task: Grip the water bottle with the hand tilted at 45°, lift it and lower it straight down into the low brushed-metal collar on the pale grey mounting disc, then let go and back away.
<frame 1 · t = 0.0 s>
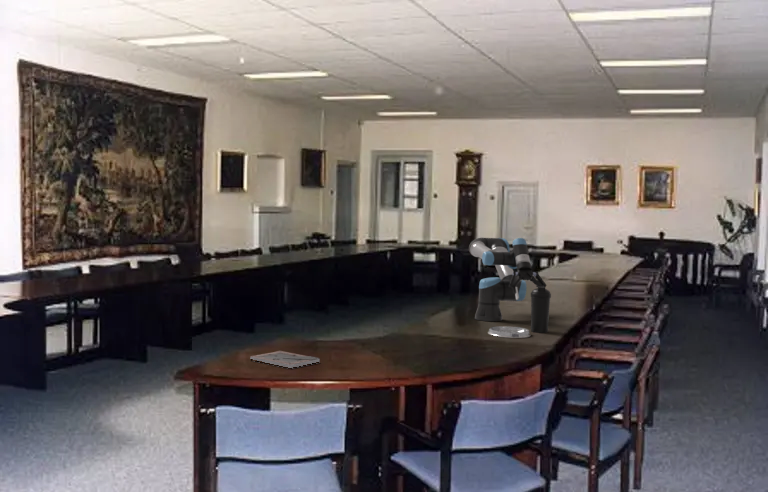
hand: (530, 299, 415), 15 cm above the table, tool tilted 35°, fingers open, 13 cm apart
water bottle: (539, 331, 405), on the table
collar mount: (509, 334, 393), on the table
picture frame: (284, 363, 310), on the table
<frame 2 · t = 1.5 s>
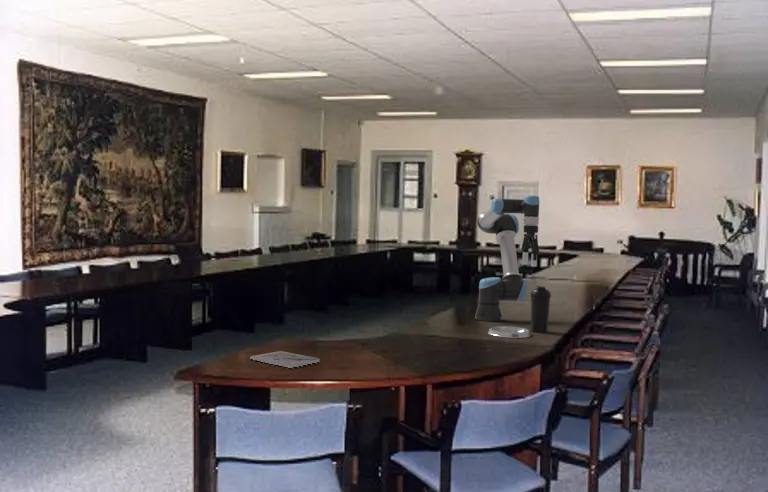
hand: (529, 265, 416), 33 cm above the table, tool pointing down, fingers open, 13 cm apart
nothing on the table moved.
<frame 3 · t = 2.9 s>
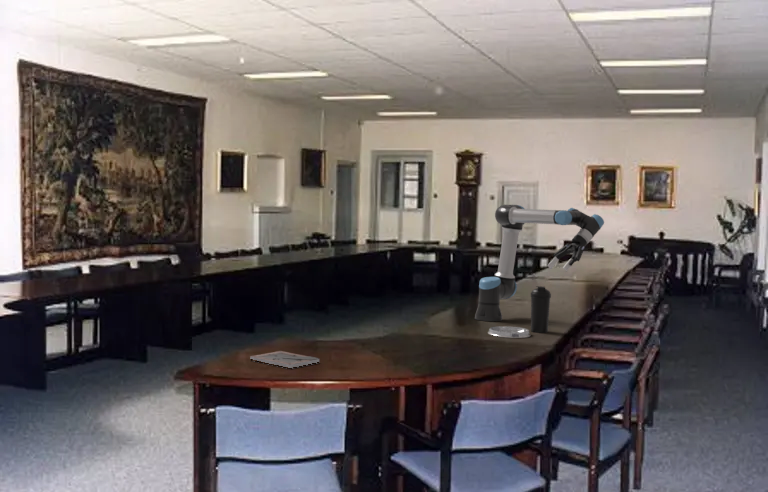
hand: (556, 268, 407), 32 cm above the table, tool tilted 45°, fingers open, 13 cm apart
nothing on the table moved.
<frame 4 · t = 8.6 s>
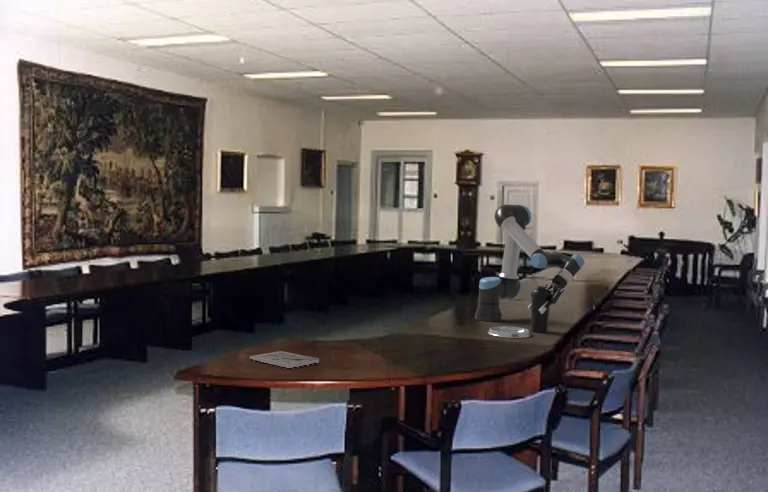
hand: (534, 310, 403), 11 cm above the table, tool tilted 45°, fingers closed on water bottle, 9 cm apart
water bottle: (539, 331, 405), on the table, touching gripper
everything else where it was.
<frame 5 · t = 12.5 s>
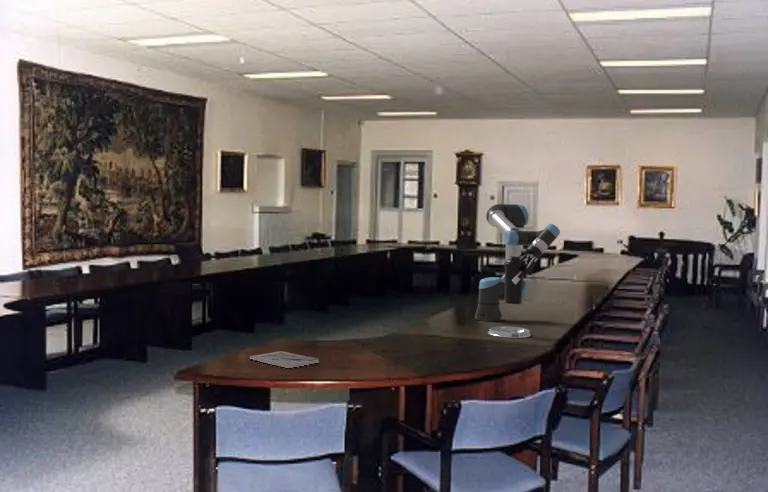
hand: (508, 281, 391), 26 cm above the table, tool tilted 45°, fingers closed on water bottle, 9 cm apart
water bottle: (513, 303, 393), point 16 cm above the table, touching gripper
everything else where it was.
when the fingers open (12 cm above the table, at t = 16.3 s): water bottle stays where it is, resting on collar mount.
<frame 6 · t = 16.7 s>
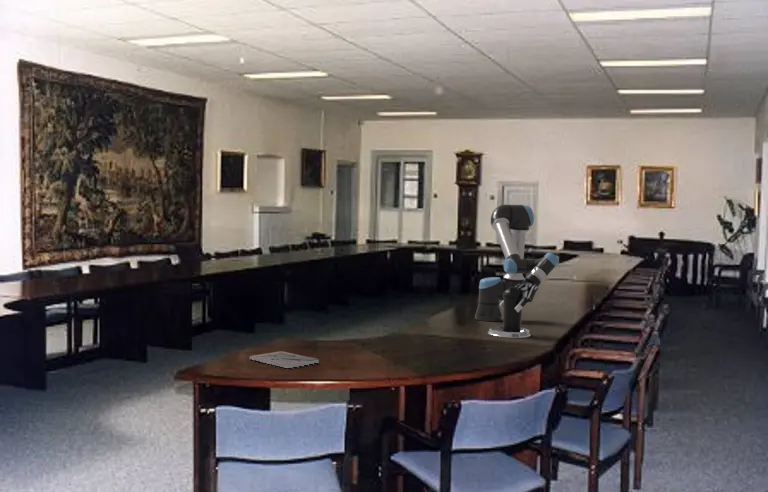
hand: (508, 308, 392), 13 cm above the table, tool tilted 45°, fingers open, 13 cm apart
water bottle: (511, 333, 394), resting on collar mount
everything else where it was.
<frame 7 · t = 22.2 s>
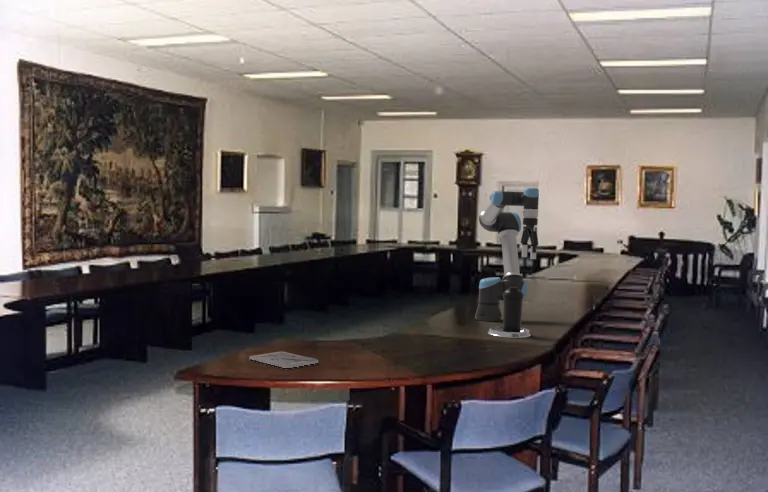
hand: (528, 258, 414), 37 cm above the table, tool pointing down, fingers open, 13 cm apart
at the end: water bottle 1.6 cm off-centre on the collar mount, point 0.3 cm above the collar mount's base; water bottle tilted 0°; the gripper is holding nothing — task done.
